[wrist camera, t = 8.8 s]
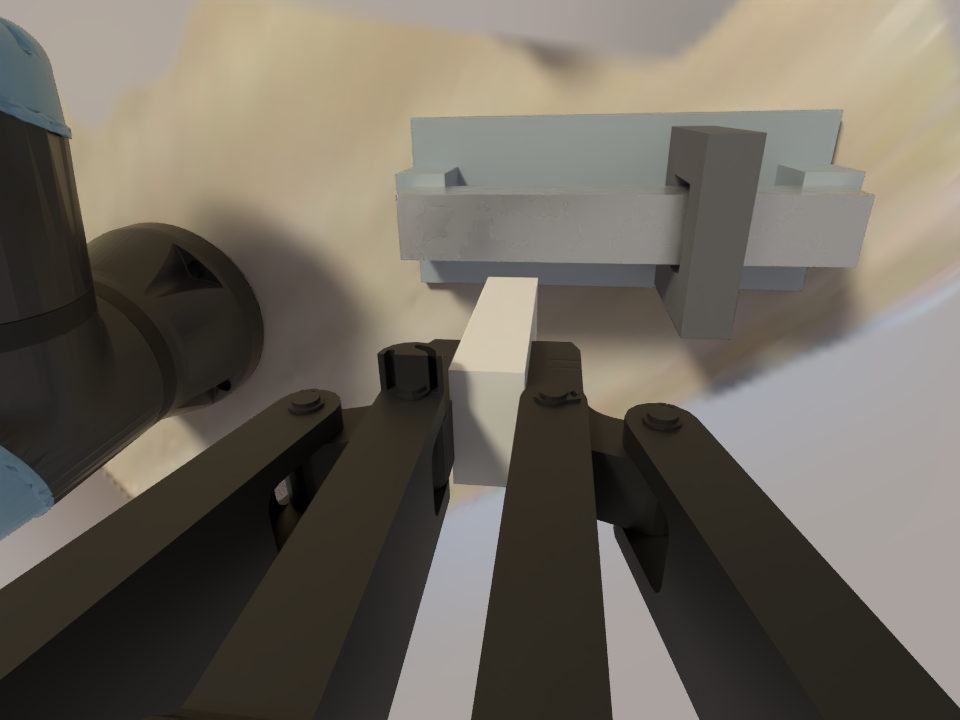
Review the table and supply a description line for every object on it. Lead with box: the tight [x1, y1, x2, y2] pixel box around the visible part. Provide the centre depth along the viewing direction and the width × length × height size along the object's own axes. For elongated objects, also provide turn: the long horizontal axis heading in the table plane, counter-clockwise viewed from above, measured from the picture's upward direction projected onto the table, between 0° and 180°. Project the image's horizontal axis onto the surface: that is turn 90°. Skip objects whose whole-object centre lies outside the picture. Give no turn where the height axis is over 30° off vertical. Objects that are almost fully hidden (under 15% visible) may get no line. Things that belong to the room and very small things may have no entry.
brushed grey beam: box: [396, 185, 875, 268], centre depth 31 cm, size 24×4×4 cm, turn 91°
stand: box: [395, 110, 866, 291], centre depth 35 cm, size 26×11×5 cm, turn 91°
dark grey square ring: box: [654, 126, 767, 340], centre depth 30 cm, size 2×10×10 cm, turn 1°
